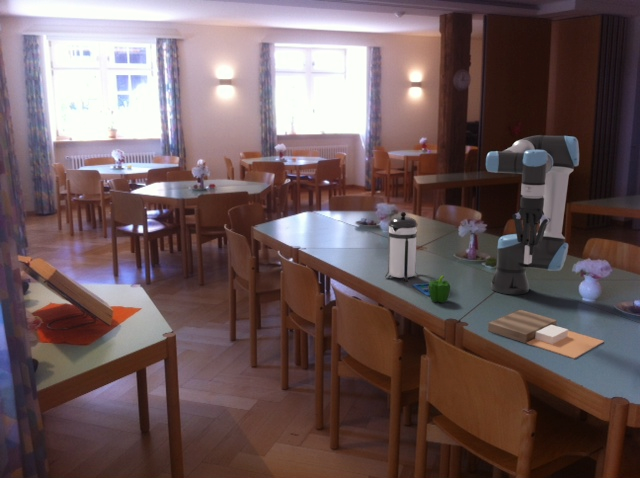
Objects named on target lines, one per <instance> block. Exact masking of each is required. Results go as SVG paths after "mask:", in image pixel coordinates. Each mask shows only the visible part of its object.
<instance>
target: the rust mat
mask: <svg viewBox="0 0 640 478" xmlns="http://www.w3.org/2000/svg"><path fill="white" fill-rule="evenodd" d="M604 342H605V341H604V340H602V339H598V338H594V337H592V336H588V335H584V334H581V333H578V332H574V331H572V330H571V331H570V330H568V337H566V338H564V339H562V340H560V341H558V342H556V343H554V344H549V343H546V342H543V341H540V340H537V339H533V340H531V341H529V342H527V343H526V344H527V345H530V346H533V347H534V348H535V347H536V348H538V349H542V350H544V351H548V352H551V353H554V354H557V355H561V356H563V357H567V358H569V359H572V360H575V359H577V358H579V357H581V356H583V355H584V354H586V353H588V352H589V351H591V350H594V349H595V348H596V347H598V346H600V345H602V344H603V343H604Z"/></svg>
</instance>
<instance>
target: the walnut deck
mask: <svg viewBox="0 0 640 478" xmlns="http://www.w3.org/2000/svg"><path fill="white" fill-rule="evenodd" d="M557 323H558V320H557V319H554V318H552V317H547V316H545V315H540V314H538V313H537V314H536V313H534V312H530V311H525V310H522V309H519V310H517V311H516V310H515V311H514V312H512V313H509V314H507V315H504V316H502V317H500V318H496V319H495V320H492V321H490V322H488V329H487V331H488V332H490V333H493V334H495V335H498V336H499V335H500V336H501V337H505V338H508V339H512V340H515V341H518V342H520V343H523V344H527V342H529V341H531V340H533V339H535V335H536V332H537V331H539V330H541V329H543V328H545V327H547V326H549V325H554V326H557Z"/></svg>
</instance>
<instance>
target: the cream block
mask: <svg viewBox="0 0 640 478" xmlns="http://www.w3.org/2000/svg"><path fill="white" fill-rule="evenodd" d="M568 331H569V329H568V328H564V327H562V326H561V327H560V326H557V325H556V326H554V325H549V326H547V327H545V328H543V329H541V330H539V331H537V332H536V335H535V339H537V340H540V341H543V342H546V343H549V344H554V343H556V342H558V341H560V340H562V339H564V338H566V337H568Z"/></svg>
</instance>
